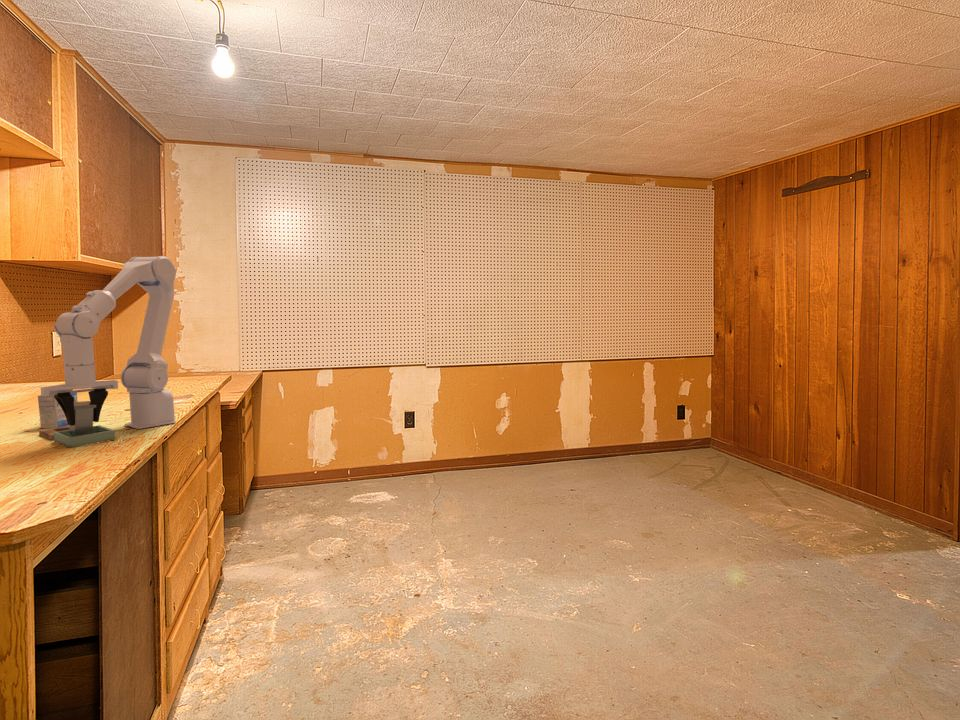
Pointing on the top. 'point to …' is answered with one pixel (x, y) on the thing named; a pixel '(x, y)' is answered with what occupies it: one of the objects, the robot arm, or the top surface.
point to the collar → (52, 431)
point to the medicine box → (52, 412)
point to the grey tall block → (82, 418)
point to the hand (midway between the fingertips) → (83, 423)
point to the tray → (84, 437)
